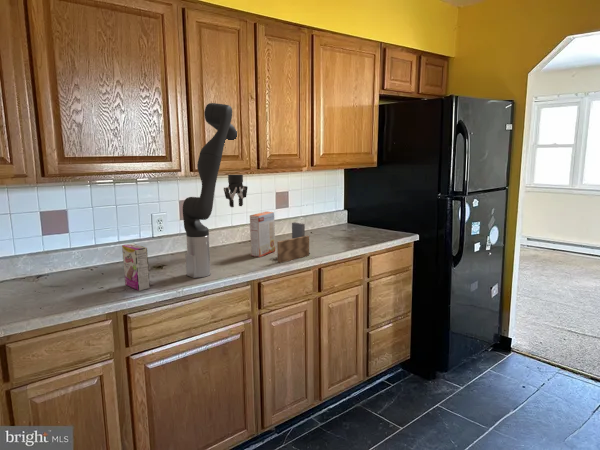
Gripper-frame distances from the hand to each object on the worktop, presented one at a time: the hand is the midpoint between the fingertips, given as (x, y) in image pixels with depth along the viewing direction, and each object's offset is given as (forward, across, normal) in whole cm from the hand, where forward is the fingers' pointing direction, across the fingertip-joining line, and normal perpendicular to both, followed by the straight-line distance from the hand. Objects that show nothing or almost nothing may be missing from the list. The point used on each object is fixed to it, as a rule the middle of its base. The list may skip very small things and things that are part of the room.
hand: (236, 206), depth 222 cm
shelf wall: (+23, +9, -34) cm, 42 cm away
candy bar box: (+24, -64, -21) cm, 71 cm away
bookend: (+23, +19, -29) cm, 42 cm away
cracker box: (+24, +5, -15) cm, 28 cm away
